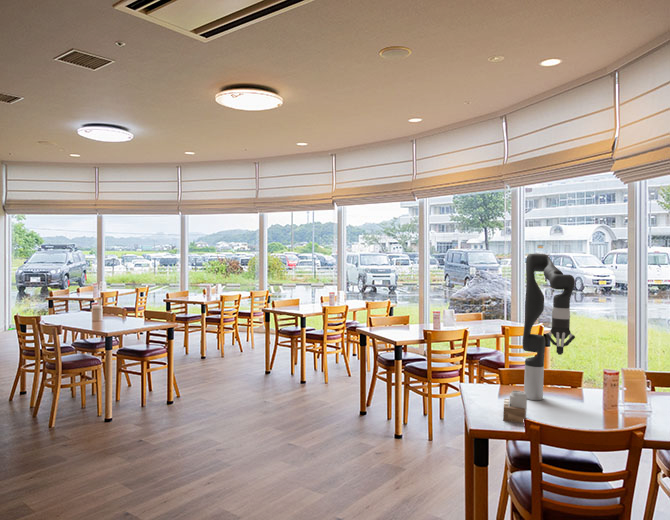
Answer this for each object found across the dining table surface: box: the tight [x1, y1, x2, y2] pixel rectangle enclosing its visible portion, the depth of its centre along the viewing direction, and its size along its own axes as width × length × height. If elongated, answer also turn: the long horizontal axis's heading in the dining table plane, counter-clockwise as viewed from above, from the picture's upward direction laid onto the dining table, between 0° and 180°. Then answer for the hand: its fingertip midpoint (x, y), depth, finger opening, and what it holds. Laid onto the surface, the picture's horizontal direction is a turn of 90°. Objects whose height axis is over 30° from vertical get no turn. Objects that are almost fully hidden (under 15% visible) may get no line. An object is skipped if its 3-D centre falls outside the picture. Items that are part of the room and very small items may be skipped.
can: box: [509, 390, 528, 419], centre depth 231 cm, size 8×8×12 cm
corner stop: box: [502, 398, 526, 424], centre depth 232 cm, size 14×9×7 cm, turn 160°
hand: (559, 354), depth 234 cm, fingers closed
